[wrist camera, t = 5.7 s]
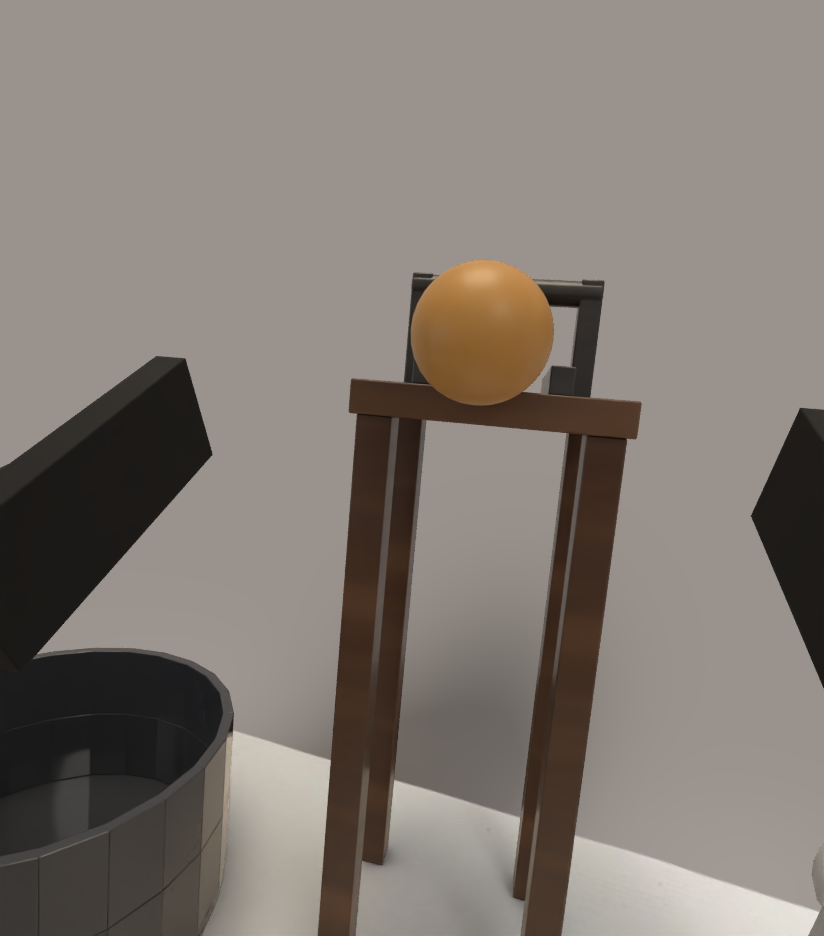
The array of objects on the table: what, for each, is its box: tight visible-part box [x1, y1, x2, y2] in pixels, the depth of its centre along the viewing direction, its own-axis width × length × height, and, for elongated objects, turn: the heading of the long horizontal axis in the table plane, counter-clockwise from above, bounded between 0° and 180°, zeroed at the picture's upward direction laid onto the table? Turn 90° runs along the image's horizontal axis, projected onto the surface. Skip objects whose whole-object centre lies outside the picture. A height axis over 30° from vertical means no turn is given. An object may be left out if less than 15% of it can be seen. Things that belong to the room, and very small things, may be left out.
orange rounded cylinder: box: [411, 260, 554, 406], centre depth 21 cm, size 15×4×4 cm, turn 169°
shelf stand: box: [318, 272, 642, 936], centre depth 29 cm, size 10×12×36 cm
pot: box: [0, 648, 234, 936], centre depth 31 cm, size 19×19×10 cm
